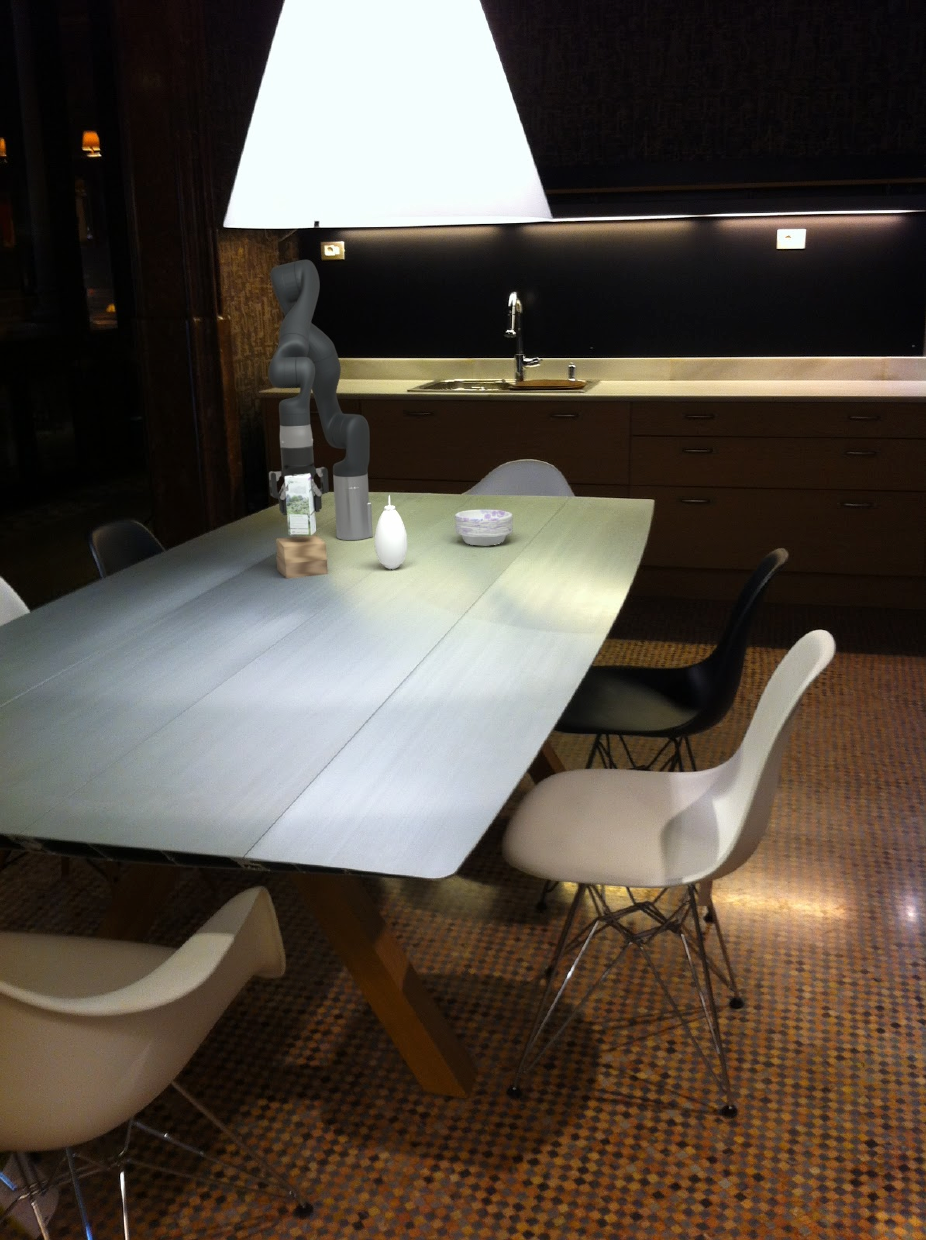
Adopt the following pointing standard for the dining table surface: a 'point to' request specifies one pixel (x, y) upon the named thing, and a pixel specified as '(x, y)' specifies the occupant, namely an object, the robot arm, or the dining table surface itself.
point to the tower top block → (301, 549)
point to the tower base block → (301, 568)
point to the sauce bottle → (390, 538)
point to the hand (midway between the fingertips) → (300, 513)
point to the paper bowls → (483, 526)
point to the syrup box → (300, 505)
